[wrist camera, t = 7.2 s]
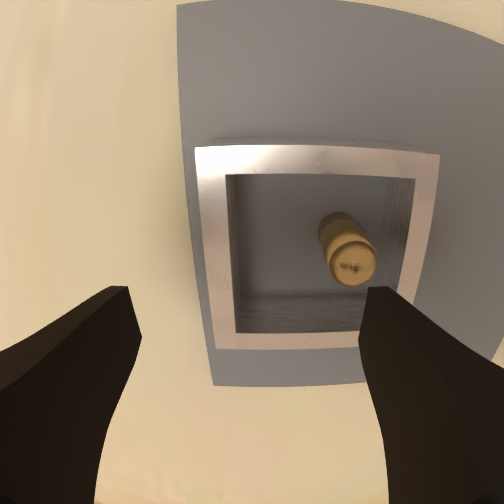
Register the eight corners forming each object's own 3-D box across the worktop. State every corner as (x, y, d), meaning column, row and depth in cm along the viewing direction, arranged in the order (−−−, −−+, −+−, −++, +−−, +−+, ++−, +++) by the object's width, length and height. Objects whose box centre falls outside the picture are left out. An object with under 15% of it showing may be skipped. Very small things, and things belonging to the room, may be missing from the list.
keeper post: (355, 206, 15) (387, 249, 11) (351, 244, 16) (378, 295, 11) (315, 206, 15) (334, 249, 11) (313, 244, 16) (329, 297, 12)
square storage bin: (408, 144, 12) (440, 155, 10) (384, 308, 16) (400, 343, 14) (209, 139, 13) (195, 148, 10) (223, 310, 17) (215, 348, 14)
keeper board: (548, 72, 10) (556, 73, 9) (487, 354, 19) (491, 360, 19) (181, 10, 11) (176, 5, 10) (214, 376, 21) (213, 385, 20)
